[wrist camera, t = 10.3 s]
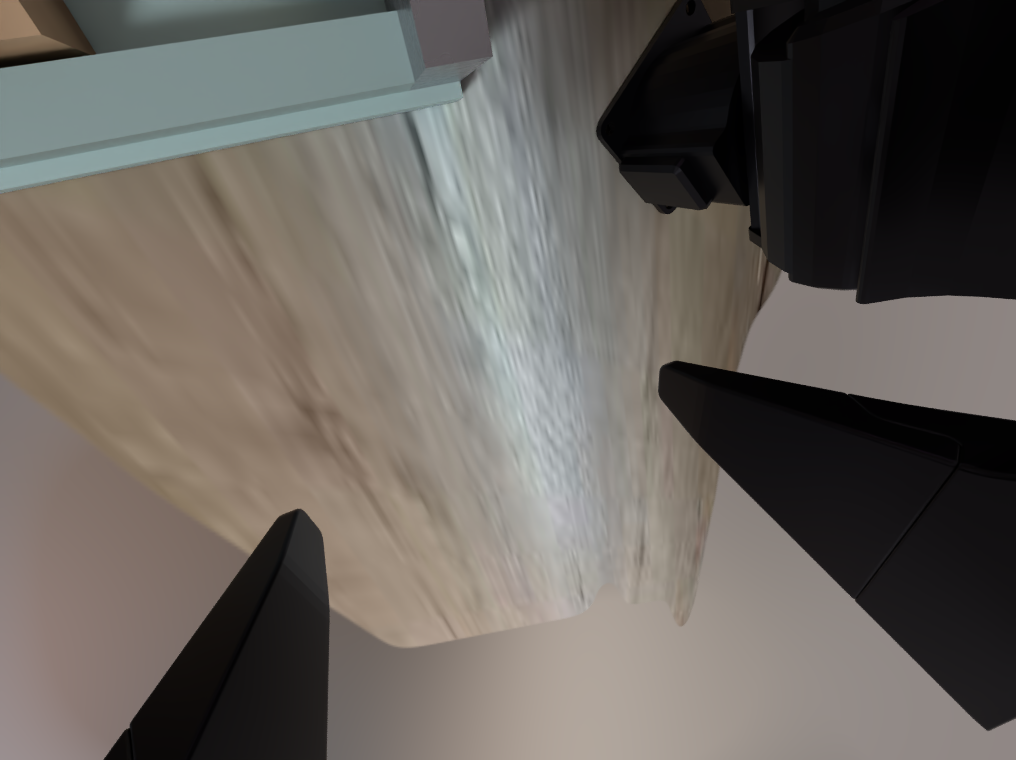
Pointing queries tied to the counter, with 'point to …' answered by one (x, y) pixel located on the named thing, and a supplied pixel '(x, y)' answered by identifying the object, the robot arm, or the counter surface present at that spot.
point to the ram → (39, 33)
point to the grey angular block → (443, 38)
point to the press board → (207, 25)
